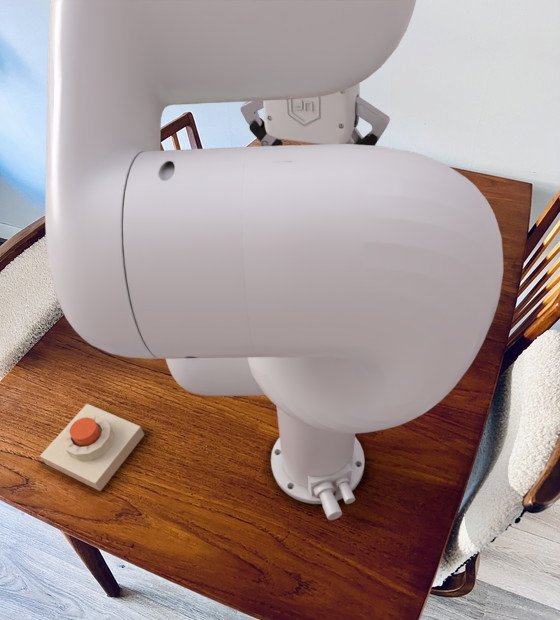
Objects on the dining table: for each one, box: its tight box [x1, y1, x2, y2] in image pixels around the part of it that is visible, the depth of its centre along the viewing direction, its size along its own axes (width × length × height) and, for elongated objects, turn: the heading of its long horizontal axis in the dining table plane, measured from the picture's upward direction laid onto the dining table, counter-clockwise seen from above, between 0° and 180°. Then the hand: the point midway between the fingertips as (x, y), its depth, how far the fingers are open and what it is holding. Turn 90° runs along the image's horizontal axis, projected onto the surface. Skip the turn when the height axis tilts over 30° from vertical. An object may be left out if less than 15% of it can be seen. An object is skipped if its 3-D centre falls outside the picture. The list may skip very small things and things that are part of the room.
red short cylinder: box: [70, 418, 100, 446], centre depth 71 cm, size 4×4×2 cm
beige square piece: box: [39, 403, 145, 492], centre depth 73 cm, size 10×10×4 cm
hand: (313, 180), depth 65 cm, fingers open, 9 cm apart
